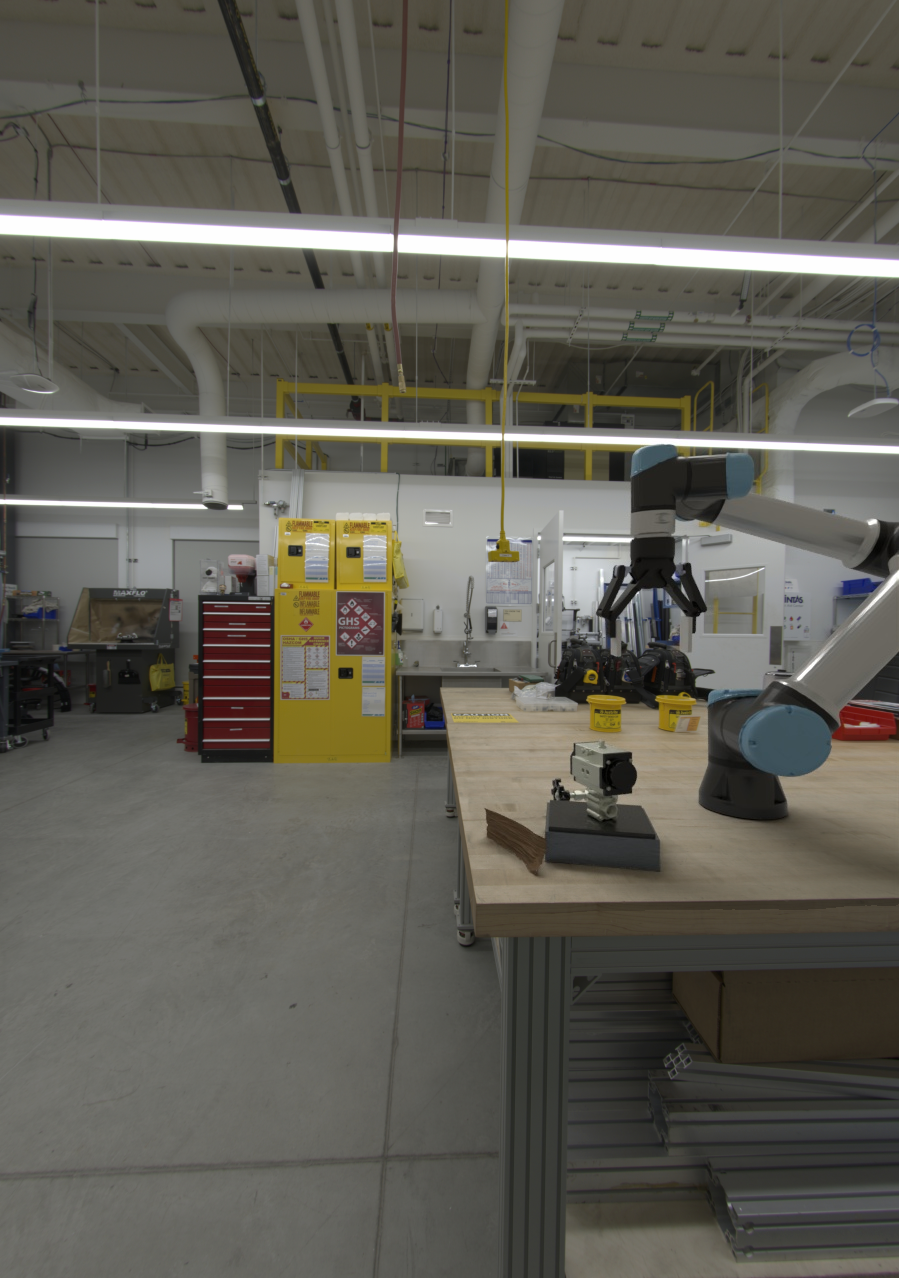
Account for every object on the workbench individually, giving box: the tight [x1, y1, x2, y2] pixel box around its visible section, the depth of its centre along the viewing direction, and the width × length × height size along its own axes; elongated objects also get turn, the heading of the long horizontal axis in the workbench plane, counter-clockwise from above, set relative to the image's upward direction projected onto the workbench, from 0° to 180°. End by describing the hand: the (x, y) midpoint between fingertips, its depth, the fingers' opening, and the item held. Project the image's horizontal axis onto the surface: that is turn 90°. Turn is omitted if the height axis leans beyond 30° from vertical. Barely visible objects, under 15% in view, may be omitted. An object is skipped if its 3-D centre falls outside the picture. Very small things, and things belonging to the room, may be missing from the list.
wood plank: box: [484, 807, 547, 876], centre depth 78 cm, size 15×2×5 cm, turn 27°
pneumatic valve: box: [569, 739, 638, 821], centre depth 80 cm, size 6×12×12 cm, turn 17°
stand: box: [544, 799, 661, 872], centre depth 81 cm, size 16×14×5 cm
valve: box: [550, 778, 619, 802], centre depth 97 cm, size 7×7×12 cm
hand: (650, 653), depth 94 cm, fingers open, 13 cm apart
